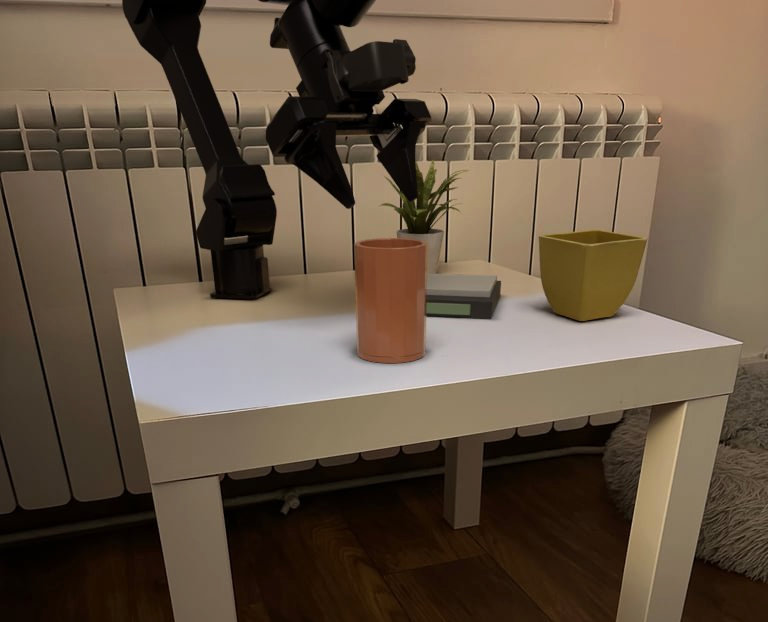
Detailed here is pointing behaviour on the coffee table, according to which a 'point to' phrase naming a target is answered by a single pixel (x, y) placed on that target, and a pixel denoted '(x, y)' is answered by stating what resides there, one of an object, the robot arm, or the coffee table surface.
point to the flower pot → (589, 271)
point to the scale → (462, 295)
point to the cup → (391, 299)
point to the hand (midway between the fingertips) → (384, 203)
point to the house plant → (425, 214)
